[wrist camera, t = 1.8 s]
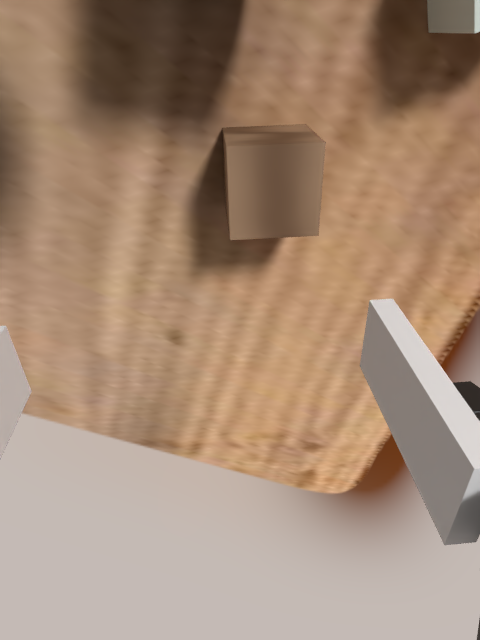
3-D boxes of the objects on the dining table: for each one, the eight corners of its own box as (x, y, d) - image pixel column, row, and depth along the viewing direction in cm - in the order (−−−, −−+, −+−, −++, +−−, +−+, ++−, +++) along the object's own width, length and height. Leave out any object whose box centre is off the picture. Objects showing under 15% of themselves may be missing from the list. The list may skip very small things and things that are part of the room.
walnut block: (225, 209, 35) (230, 240, 30) (222, 127, 32) (226, 146, 27) (301, 206, 35) (318, 235, 30) (306, 124, 32) (325, 142, 27)
